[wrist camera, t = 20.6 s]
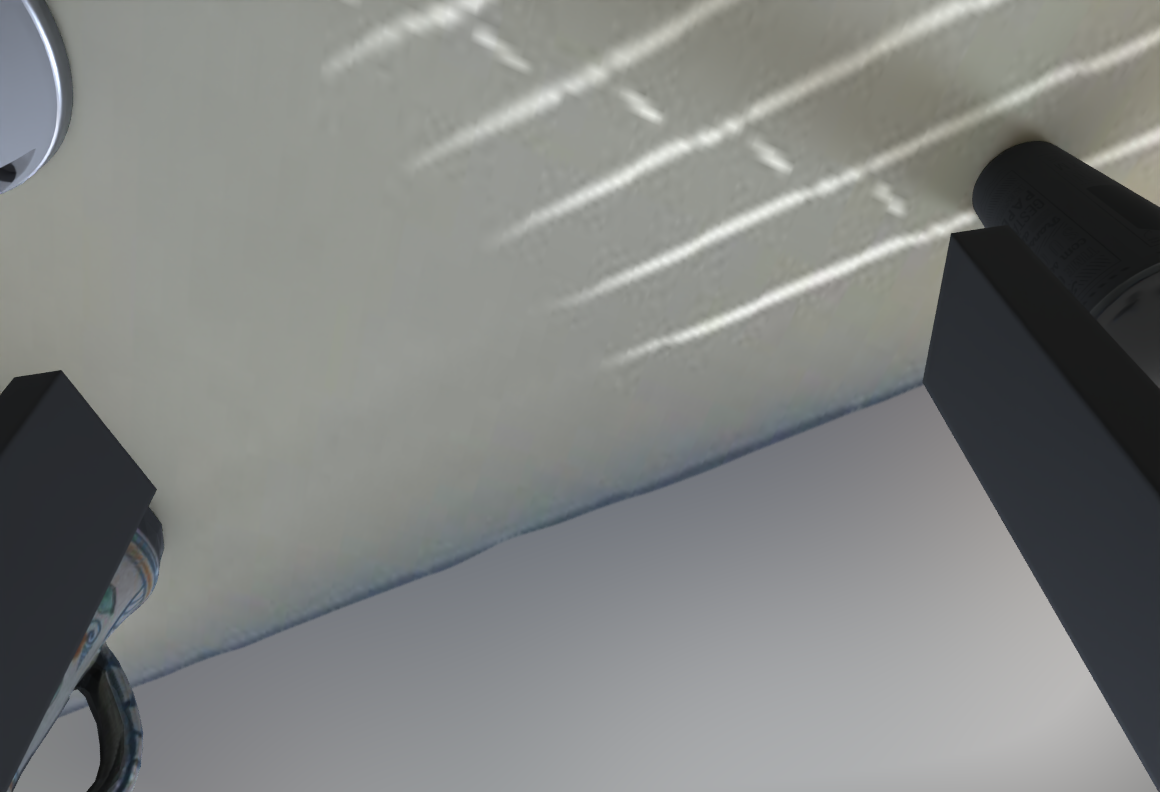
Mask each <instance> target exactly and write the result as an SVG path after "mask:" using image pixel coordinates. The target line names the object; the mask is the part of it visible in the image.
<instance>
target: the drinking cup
mask: <svg viewBox="0 0 1160 792" xmlns="http://www.w3.org/2000/svg"><path fill="white" fill-rule="evenodd" d="M972 202H973V207H974V210H975V212H976V214H977V215H978V217H979V219H980V220H981V222H982V224H983V225H984V227H985V228H990V227H996V226H1003V225H1009V226H1010V227H1011V228H1012V229H1013V230H1014V232H1015V233H1016V234H1017V235H1018V236H1019V237H1020V238H1021V239H1022V240H1023V241H1024V242H1025V243H1026V245H1027V246H1028V247H1029V248H1030V249H1031V250H1032V251H1033V252H1034V253H1035V254H1036V255H1037V256H1038V258H1039V259H1040V260H1041V261H1042V262H1043V263H1044V264H1045V265H1046V266H1047V267H1048V268H1049V269H1050V271H1051V272H1052V273H1053V274H1054V275H1055V276H1056V277H1057V278H1058V279H1059V280H1060V281H1061V282H1062V284H1063V285H1064V286H1065V287H1066V288H1067V289H1068V290H1069V291H1070V292H1071V293H1072V294H1073V295H1074V296H1075V298H1076V299H1077V300H1078V301H1079V302H1080V303H1081V304H1082V305H1083V306H1084V307H1085V308H1086V309H1087V311H1088V312H1089V313H1090V314H1091V315H1092V316H1093V317H1094V318H1095V319H1096V320H1097V321H1098V322H1099V324H1100V325H1101V326H1102V327H1103V328H1104V329H1105V330H1106V331H1107V332H1108V333H1109V334H1110V335H1111V337H1112V338H1113V339H1114V340H1115V341H1116V342H1117V343H1118V344H1119V345H1120V346H1121V347H1122V348H1123V350H1124V351H1125V352H1126V353H1127V354H1128V355H1129V356H1130V357H1131V358H1132V359H1133V360H1134V361H1135V362H1136V364H1137V365H1138V366H1139V367H1140V368H1141V369H1142V370H1143V371H1144V372H1145V373H1146V374H1147V375H1148V377H1149V378H1150V379H1151V380H1152V381H1153V382H1154V383H1155V384H1156V385H1157V386H1158V387H1159V388H1160V207H1158V206H1157V205H1155V204H1153V203H1152V202H1150V201H1148V200H1146V199H1145V198H1143V197H1141V196H1140V195H1138V194H1136V193H1135V192H1133V191H1131V190H1130V189H1128V188H1126V187H1125V186H1123V185H1121V184H1119V183H1118V182H1116V181H1114V180H1113V179H1111V178H1109V177H1108V176H1106V175H1104V174H1103V173H1101V172H1099V171H1098V170H1096V169H1094V168H1092V167H1091V166H1089V165H1087V164H1086V163H1084V162H1082V161H1081V160H1079V159H1077V158H1076V157H1074V156H1072V155H1071V154H1069V153H1067V152H1065V151H1064V150H1062V149H1060V148H1059V147H1057V146H1055V145H1053V144H1051V143H1048V142H1041V141H1034V142H1027V143H1023V144H1019V145H1017V146H1014V147H1012V148H1010V149H1008V150H1006V151H1004V152H1003V153H1001V154H1000V155H998V156H997V157H996V158H995V159H994V160H992V161H991V162H990V163H989V164H988V165H987V166H986V168H985V169H984V170H983V172H982V173H981V174H980V176H979V178H978V180H977V182H976V184H975V187H974V190H973V197H972Z"/></svg>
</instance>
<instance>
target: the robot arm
mask: <svg viewBox="0 0 1160 792" xmlns="http://www.w3.org/2000/svg"><path fill="white" fill-rule="evenodd" d="M72 107H73V86H72V76H71V70H70V65H69V60H68V56H67V53H66V49H65V46H64V43H63V40H62V37H61V35H60V32H59V30H58V27H57V25H56V23H55V20H54V18H53V16H52V14H51V12H50V10H49V8H48V6H47V4H46V2H45V1H44V0H0V194H2V193H4V192H6V191H9V190H11V189H13V188H15V187H17V186H18V185H20V184H22V183H23V182H25V181H26V180H27V179H28V178H29V177H31V176H32V175H33V174H34V173H35V172H37V171H38V170H39V169H40V168H41V167H42V166H44V165H45V164H46V163H47V162H48V161H49V160H50V159H51V158H52V157H53V155H54V154H55V153H56V151H57V150H58V148H59V147H60V145H61V144H62V142H63V140H64V137H65V135H66V133H67V130H68V127H69V123H70V120H71V114H72ZM923 384H924V385H925V387H926V389H927V391H928V392H929V394H930V396H931V398H932V399H933V401H934V403H935V404H936V406H937V408H938V410H939V411H940V413H941V415H942V417H943V418H944V420H945V422H946V424H947V425H948V427H949V429H950V431H951V432H952V434H953V436H954V438H955V439H956V441H957V443H958V444H959V446H960V448H961V450H962V451H963V453H964V455H965V457H966V458H967V460H968V462H969V464H970V465H971V467H972V469H973V470H974V472H975V474H976V476H977V477H978V479H979V481H980V483H981V484H982V486H983V488H984V490H985V491H986V493H987V495H988V496H989V498H990V500H991V502H992V503H993V505H994V507H995V509H996V510H997V512H998V514H999V516H1000V517H1001V519H1002V521H1003V523H1004V524H1005V526H1006V528H1007V530H1008V531H1009V533H1010V535H1011V536H1012V538H1013V540H1014V542H1015V543H1016V545H1017V547H1018V549H1019V550H1020V552H1021V554H1022V556H1023V557H1024V559H1025V561H1026V562H1027V564H1028V566H1029V568H1030V569H1031V571H1032V573H1033V575H1034V576H1035V578H1036V580H1037V582H1038V583H1039V585H1040V586H1041V589H1042V590H1043V592H1044V594H1045V595H1046V597H1047V599H1048V601H1049V602H1050V604H1051V606H1052V608H1053V609H1054V611H1055V613H1056V615H1057V616H1058V618H1059V620H1060V621H1061V623H1062V625H1063V627H1064V628H1065V630H1066V632H1067V634H1068V635H1069V637H1070V639H1071V640H1072V642H1073V644H1074V646H1075V648H1076V649H1077V651H1078V653H1079V654H1080V656H1081V658H1082V660H1083V661H1084V663H1085V665H1086V667H1087V668H1088V670H1089V672H1090V673H1091V675H1092V677H1093V679H1094V681H1095V682H1096V684H1097V686H1098V687H1099V689H1100V691H1101V693H1102V694H1103V696H1104V698H1105V699H1106V701H1107V703H1108V705H1109V706H1110V708H1111V710H1112V712H1113V713H1114V715H1115V717H1116V719H1117V720H1118V722H1119V724H1120V725H1121V727H1122V729H1123V731H1124V732H1125V734H1126V736H1127V738H1128V740H1129V741H1130V743H1131V745H1132V746H1133V748H1134V750H1135V752H1136V753H1137V755H1138V757H1139V759H1140V760H1141V762H1142V764H1143V766H1144V767H1145V769H1146V771H1147V772H1148V774H1149V776H1150V778H1151V779H1152V781H1153V783H1154V784H1155V786H1156V788H1157V790H1158V791H1159V792H1160V388H1159V387H1158V386H1157V385H1156V384H1155V383H1154V382H1153V381H1152V380H1151V379H1150V378H1149V377H1148V375H1147V374H1146V373H1145V372H1144V371H1143V370H1142V369H1141V368H1140V367H1139V366H1138V365H1137V364H1136V362H1135V361H1134V360H1133V359H1132V358H1131V357H1130V356H1129V355H1128V354H1127V353H1126V352H1125V351H1124V350H1123V348H1122V347H1121V346H1120V345H1119V344H1118V343H1117V342H1116V341H1115V340H1114V339H1113V338H1112V337H1111V335H1110V334H1109V333H1108V332H1107V331H1106V330H1105V329H1104V328H1103V327H1102V326H1101V325H1100V324H1099V322H1098V321H1097V320H1096V319H1095V318H1094V317H1093V316H1092V315H1091V314H1090V313H1089V312H1088V311H1087V309H1086V308H1085V307H1084V306H1083V305H1082V304H1081V303H1080V302H1079V301H1078V300H1077V299H1076V298H1075V296H1074V295H1073V294H1072V293H1071V292H1070V291H1069V290H1068V289H1067V288H1066V287H1065V286H1064V285H1063V284H1062V282H1061V281H1060V280H1059V279H1058V278H1057V277H1056V276H1055V275H1054V274H1053V273H1052V272H1051V271H1050V269H1049V268H1048V267H1047V266H1046V265H1045V264H1044V263H1043V262H1042V261H1041V260H1040V259H1039V258H1038V256H1037V255H1036V254H1035V253H1034V252H1033V251H1032V250H1031V249H1030V248H1029V247H1028V246H1027V245H1026V243H1025V242H1024V241H1023V240H1022V239H1021V238H1020V237H1019V236H1018V235H1017V234H1016V233H1015V232H1014V230H1013V229H1012V228H1011V227H1010V226H1009V225H1003V226H996V227H990V228H983V229H977V230H970V231H964V232H957V233H951V237H950V242H949V247H948V252H947V257H946V263H945V268H944V273H943V278H942V284H941V289H940V294H939V299H938V304H937V310H936V315H935V320H934V325H933V331H932V336H931V341H930V346H929V351H928V357H927V362H926V367H925V372H924V378H923ZM156 490H157V489H156V488H155V486H154V485H153V484H152V483H151V481H150V480H149V479H148V478H147V476H146V475H145V474H144V473H143V471H142V470H141V469H140V468H139V466H138V465H137V464H136V463H135V461H134V460H133V459H132V458H131V456H130V455H129V454H128V453H127V452H126V450H125V449H124V448H123V447H122V445H121V444H120V443H119V442H118V440H117V439H116V438H115V437H114V435H113V434H112V433H111V432H110V430H109V429H108V428H107V427H106V425H105V424H104V423H103V422H102V420H101V419H100V418H99V417H98V415H97V414H96V413H95V412H94V410H93V409H92V408H91V407H90V405H89V404H88V403H87V402H86V400H85V399H84V398H83V397H82V395H81V394H80V393H79V392H78V390H77V389H76V388H75V387H74V385H73V384H72V383H71V382H70V380H69V379H68V378H67V377H66V375H65V374H64V373H63V372H62V370H59V371H53V372H46V373H40V374H33V375H27V376H20V377H14V378H13V380H12V381H11V382H10V383H9V385H8V386H7V387H6V388H5V390H4V391H3V392H2V393H1V395H0V792H7V790H8V788H9V786H10V784H11V782H12V780H13V778H14V776H15V774H16V772H17V770H18V768H19V766H20V764H21V762H22V760H23V758H24V756H25V754H26V752H27V750H28V748H29V746H30V744H31V742H32V740H33V738H34V736H35V734H36V732H37V730H38V728H39V726H40V724H41V722H42V720H43V718H44V716H45V714H46V712H47V710H48V708H49V706H50V704H51V701H52V699H53V697H54V695H55V693H56V691H57V689H58V687H59V685H60V683H61V681H62V679H63V677H64V675H65V673H66V671H67V669H68V667H69V665H70V663H71V661H72V659H73V657H74V655H75V653H76V651H77V649H78V647H79V645H80V643H81V641H82V639H83V637H84V635H85V633H86V631H87V629H88V627H89V625H90V623H91V621H92V619H93V617H94V615H95V613H96V611H97V609H98V607H99V605H100V603H101V601H102V599H103V597H104V595H105V593H106V591H107V589H108V587H109V585H110V583H111V581H112V579H113V577H114V575H115V573H116V571H117V569H118V567H119V565H120V563H121V561H122V559H123V557H124V555H125V552H126V550H127V548H128V546H129V544H130V542H131V540H132V538H133V536H134V534H135V532H136V530H137V528H138V526H139V524H140V522H141V520H142V518H143V516H144V514H145V512H146V510H147V508H148V506H149V504H150V502H151V500H152V498H153V496H154V494H155V492H156Z"/></svg>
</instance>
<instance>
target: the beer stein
mask: <svg viewBox="0 0 1160 792" xmlns="http://www.w3.org/2000/svg"><path fill="white" fill-rule="evenodd" d="M163 550H164V541H163V533H162V524H161V523H160V522H159V520H158V519H157V517H156V516H155V515H154V513H153V512H152V511H151V509H150V508H149V507H148V508H147V510H146V512H145V514H144V516H143V518H142V520H141V522H140V524H139V526H138V528H137V530H136V532H135V534H134V536H133V538H132V540H131V542H130V544H129V546H128V548H127V550H126V552H125V555H124V557H123V559H122V561H121V563H120V565H119V567H118V569H117V571H116V573H115V575H114V577H113V579H112V581H111V583H110V585H109V587H108V589H107V591H106V593H105V595H104V597H103V599H102V601H101V603H100V605H99V607H98V609H97V611H96V613H95V615H94V617H93V619H92V621H91V623H90V625H89V627H88V629H87V631H86V633H85V635H84V637H83V639H82V641H81V643H80V645H79V647H78V649H77V651H76V653H75V655H74V657H73V659H72V661H71V663H70V665H69V667H68V669H67V671H66V673H65V675H64V677H63V679H62V681H61V683H60V685H59V687H58V689H57V691H56V693H55V695H54V697H53V699H52V701H51V704H50V706H49V708H48V710H47V712H46V714H45V716H44V718H43V720H42V722H41V724H40V726H39V728H38V730H37V732H36V734H35V736H34V738H33V740H32V742H31V744H30V746H29V748H28V750H27V752H26V754H25V756H24V758H23V760H22V762H21V764H20V766H19V768H18V770H17V772H16V774H15V776H14V778H13V780H12V782H11V784H10V786H9V788H8V790H7V792H13V790H14V788H15V786H16V784H17V782H18V780H19V778H20V776H21V774H22V772H23V771H24V769H25V767H26V765H27V764H28V762H29V761H30V759H31V757H32V756H33V754H34V753H35V751H36V750H37V749H38V747H39V746H40V744H41V743H42V741H43V739H44V738H45V737H46V735H47V734H48V732H49V730H50V729H51V727H52V726H53V724H54V723H55V721H56V720H57V718H58V717H59V715H60V713H61V712H62V710H63V709H64V707H65V705H66V703H67V702H68V700H69V696H70V694H71V693H72V691H73V690H77V689H78V690H79V691H80V692H81V693H82V694H83V695H84V696H85V697H86V700H87V702H88V705H89V707H90V710H91V712H92V714H93V717H94V719H95V721H96V723H97V729H98V736H99V743H100V766H99V770H98V773H97V777H96V780H95V782H94V783H93V785H92V786H91V787H90V788H89V789H88V791H87V792H132V791H133V789H134V786H135V783H136V779H137V776H138V773H139V769H140V767H141V756H142V751H143V731H142V725H141V719H140V714H139V710H138V707H137V703H136V700H135V697H134V694H133V691H132V688H131V686H130V684H129V682H128V679H127V677H126V675H125V673H124V671H123V670H122V668H121V665H120V663H119V661H118V660H117V658H116V657H115V656H114V654H113V653H112V652H111V650H110V649H109V648H108V646H107V644H106V639H107V638H108V637H109V636H110V635H111V634H112V633H113V632H114V630H115V629H116V628H117V627H118V626H119V625H120V624H121V623H122V622H123V621H124V620H125V619H126V618H127V617H128V616H129V615H130V614H132V613H133V612H134V611H135V610H136V609H138V608H139V607H140V606H141V605H142V604H143V603H144V602H145V601H146V600H147V599H148V597H149V596H150V594H151V593H152V591H153V589H154V587H155V585H156V582H157V580H158V575H159V568H160V560H161V557H162V554H163Z"/></svg>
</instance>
